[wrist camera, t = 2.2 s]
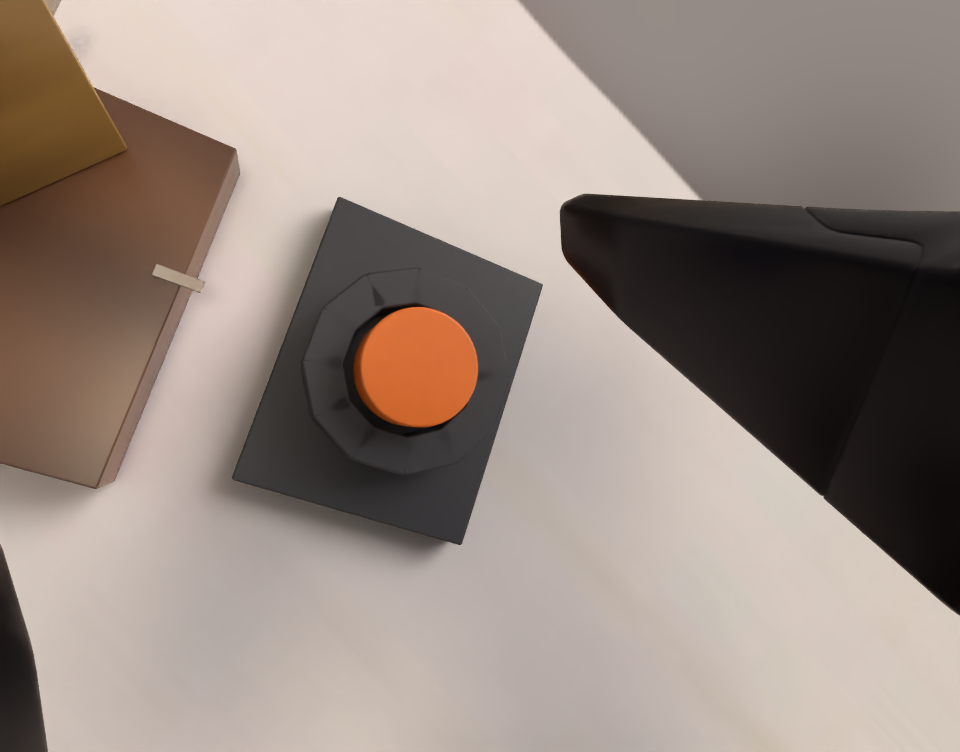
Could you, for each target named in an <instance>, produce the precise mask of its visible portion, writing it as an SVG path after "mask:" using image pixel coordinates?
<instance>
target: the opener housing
mask: <svg viewBox="0 0 960 752" xmlns="http://www.w3.org/2000/svg"><path fill="white" fill-rule="evenodd" d="M542 286H543V285H542V284H541V283H538V282H536V281H534V280H531V279H529V278H527V277H524V276H522V275H520V274H517V273H515V272H513V271H510V270H508V269H506V268H504V267H501V266H499V265H497V264H494V263H492V262H490V261H487V260H485V259H483V258H480V257H478V256H476V255H473V254H471V253H469V252H466V251H464V250H462V249H459V248H457V247H455V246H453V245H450V244H448V243H446V242H443V241H441V240H439V239H436V238H434V237H432V236H429V235H427V234H425V233H422V232H420V231H418V230H415V229H413V228H411V227H408V226H406V225H404V224H402V223H399V222H397V221H395V220H392V219H390V218H388V217H385V216H383V215H381V214H378V213H376V212H374V211H371V210H369V209H367V208H364V207H362V206H360V205H357V204H355V203H353V202H351V201H348V200H346V199H344V198H341V197H338V198H337V201H336V204H335V206H334V209H333V212H332V214H331V217H330V220H329V222H328V225H327V228H326V230H325V233H324V235H323V238H322V241H321V243H320V246H319V249H318V251H317V254H316V257H315V259H314V262H313V264H312V267H311V270H310V272H309V275H308V278H307V280H306V283H305V286H304V288H303V291H302V294H301V296H300V299H299V301H298V304H297V307H296V309H295V312H294V315H293V317H292V320H291V323H290V325H289V328H288V330H287V333H286V336H285V338H284V341H283V344H282V346H281V349H280V352H279V354H278V357H277V360H276V362H275V365H274V367H273V370H272V373H271V375H270V378H269V381H268V383H267V386H266V389H265V391H264V394H263V396H262V399H261V402H260V404H259V407H258V410H257V412H256V415H255V418H254V420H253V423H252V426H251V428H250V431H249V433H248V436H247V439H246V441H245V444H244V447H243V449H242V452H241V455H240V457H239V460H238V462H237V465H236V468H235V470H234V473H233V476H232V479H233V480H235V481H239V482H242V483H245V484H249V485H252V486H256V487H259V488H263V489H266V490H270V491H273V492H277V493H280V494H284V495H287V496H291V497H294V498H298V499H301V500H305V501H308V502H312V503H315V504H319V505H322V506H326V507H329V508H333V509H336V510H339V511H343V512H346V513H350V514H353V515H357V516H360V517H364V518H367V519H371V520H374V521H378V522H381V523H385V524H388V525H392V526H395V527H399V528H402V529H406V530H409V531H413V532H416V533H420V534H423V535H427V536H430V537H433V538H437V539H440V540H444V541H447V542H451V543H454V544H458V545H461V544H462V542H463V538H464V535H465V532H466V529H467V526H468V523H469V519H470V516H471V513H472V510H473V507H474V503H475V500H476V497H477V494H478V491H479V487H480V484H481V481H482V478H483V475H484V471H485V468H486V465H487V462H488V459H489V455H490V452H491V449H492V446H493V443H494V440H495V436H496V433H497V430H498V427H499V424H500V420H501V417H502V414H503V411H504V408H505V404H506V401H507V398H508V395H509V392H510V388H511V385H512V382H513V379H514V376H515V373H516V369H517V366H518V363H519V360H520V357H521V353H522V350H523V347H524V344H525V341H526V337H527V334H528V331H529V328H530V325H531V321H532V318H533V315H534V312H535V309H536V305H537V302H538V299H539V296H540V293H541V290H542ZM410 307H425V308H431V309H435V310H438V311H440V312H442V313H445V314H447V315H448V316H450V317H451V318H453V319H454V320H455V321H457V322H458V323H459V324H460V325H461V326H462V327H463V328H464V330H465V331H466V332H467V334H468V335H469V337H470V339H471V341H472V343H473V345H474V348H475V351H476V355H477V360H478V376H477V382H476V386H475V389H474V391H473V394H472V396H471V397H470V399H469V401H468V402H467V404H466V405H465V406H464V408H463V409H462V410H461V411H460V412H459V413H457V414H456V415H455V416H454V417H452V418H451V419H449V420H447V421H445V422H443V423H441V424H438V425H435V426H430V427H407V426H399V425H395V424H391V423H389V422H387V421H384V420H383V419H381V418H379V417H378V416H376V415H375V414H374V413H372V412H371V410H370V409H369V408H368V407H367V406H366V405H365V404H364V402H363V401H362V399H361V397H360V396H359V394H358V391H357V389H356V385H355V381H354V374H353V365H354V358H355V355H356V351H357V349H358V347H359V344H360V343H361V341H362V339H363V338H364V336H365V335H366V334H367V333H368V332H369V331H370V330H371V329H372V328H373V327H374V326H375V325H376V324H377V323H378V322H380V321H381V320H382V319H383V318H385V317H386V316H388V315H390V314H391V313H393V312H396V311H398V310H401V309H405V308H410Z"/></svg>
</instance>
